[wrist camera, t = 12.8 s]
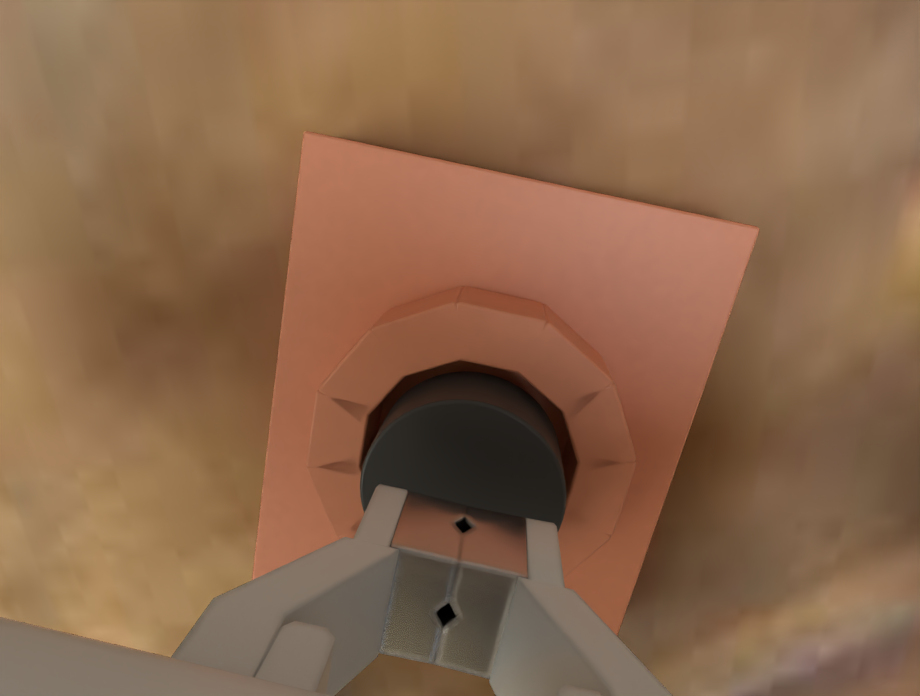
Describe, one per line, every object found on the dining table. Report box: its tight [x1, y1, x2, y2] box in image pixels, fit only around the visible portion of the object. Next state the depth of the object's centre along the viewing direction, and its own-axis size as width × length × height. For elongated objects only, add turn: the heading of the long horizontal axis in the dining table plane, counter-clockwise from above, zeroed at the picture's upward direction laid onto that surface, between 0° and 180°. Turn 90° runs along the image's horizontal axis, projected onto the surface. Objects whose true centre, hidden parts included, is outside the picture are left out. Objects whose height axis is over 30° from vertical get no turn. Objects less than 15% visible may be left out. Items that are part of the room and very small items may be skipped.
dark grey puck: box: [360, 371, 567, 532], centre depth 12 cm, size 4×4×2 cm
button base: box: [252, 131, 759, 636], centre depth 14 cm, size 12×10×4 cm
